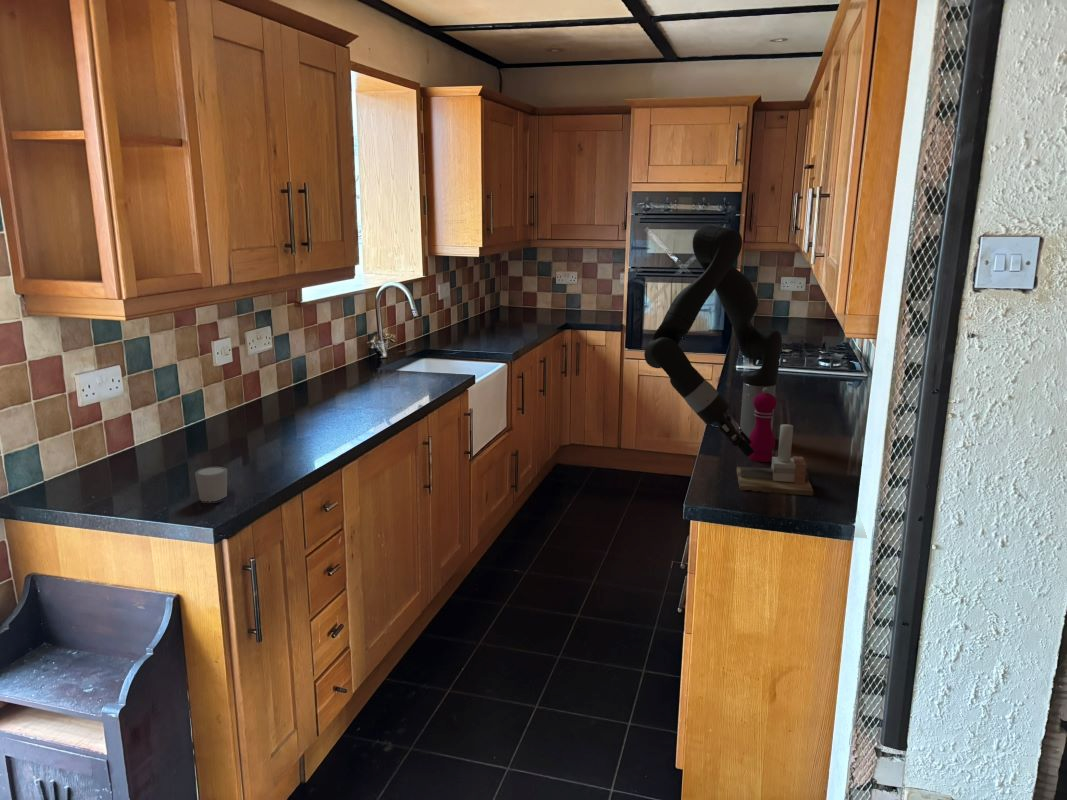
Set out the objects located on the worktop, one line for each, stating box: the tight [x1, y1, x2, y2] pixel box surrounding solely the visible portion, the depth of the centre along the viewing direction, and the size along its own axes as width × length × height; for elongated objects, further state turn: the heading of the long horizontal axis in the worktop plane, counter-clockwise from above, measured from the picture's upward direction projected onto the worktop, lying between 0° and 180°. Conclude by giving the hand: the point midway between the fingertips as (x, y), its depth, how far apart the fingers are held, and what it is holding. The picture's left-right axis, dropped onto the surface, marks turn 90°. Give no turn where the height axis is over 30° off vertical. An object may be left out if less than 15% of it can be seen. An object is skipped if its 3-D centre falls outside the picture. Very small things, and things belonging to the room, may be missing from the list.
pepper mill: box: [748, 388, 777, 463], centre depth 213 cm, size 7×7×20 cm
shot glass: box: [194, 466, 228, 502], centre depth 178 cm, size 7×7×7 cm
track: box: [736, 455, 814, 496], centre depth 195 cm, size 15×17×6 cm
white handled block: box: [770, 423, 796, 482], centre depth 193 cm, size 6×5×13 cm
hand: (749, 449), depth 194 cm, fingers open, 8 cm apart
